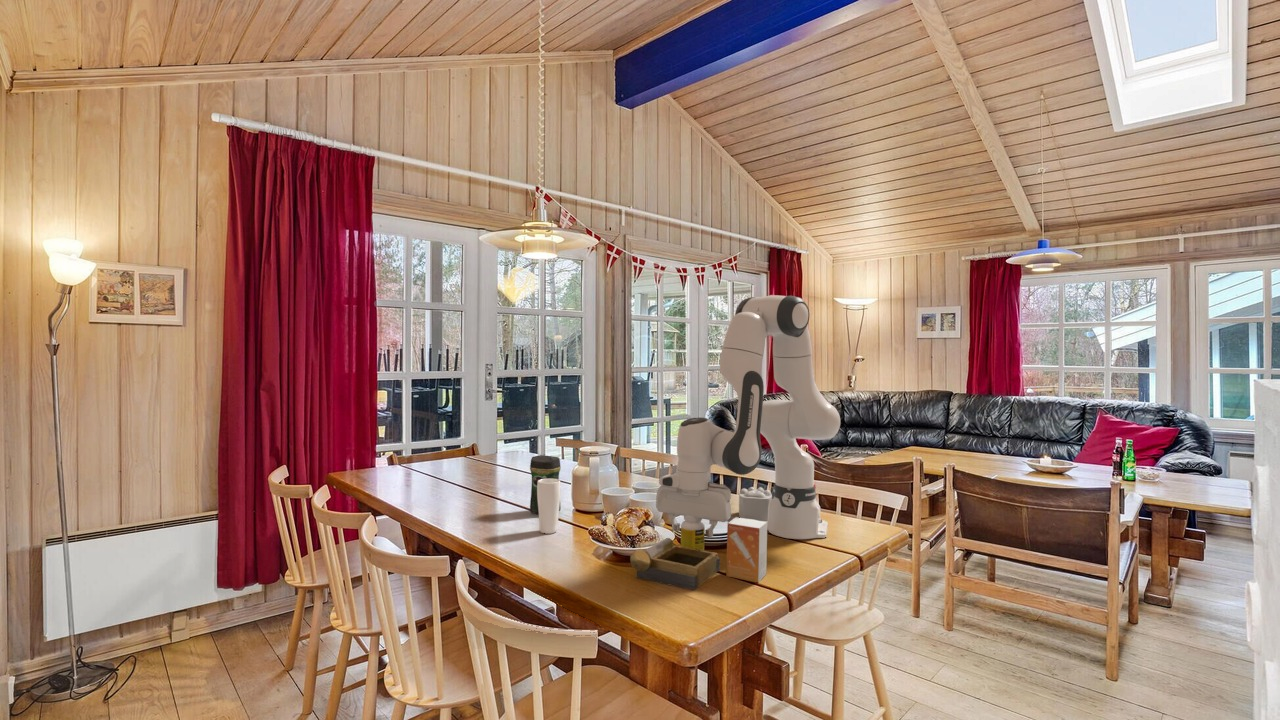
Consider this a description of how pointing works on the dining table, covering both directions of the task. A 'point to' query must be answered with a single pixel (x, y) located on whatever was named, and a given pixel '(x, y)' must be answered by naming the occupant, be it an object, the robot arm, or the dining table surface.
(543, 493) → the drinking glass
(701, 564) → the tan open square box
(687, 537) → the pill bottle
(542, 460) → the coffee jar
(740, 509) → the lumpy-topped squat cylinder
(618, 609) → the dining table surface
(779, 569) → the dining table surface
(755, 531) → the small box
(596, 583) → the dining table surface
